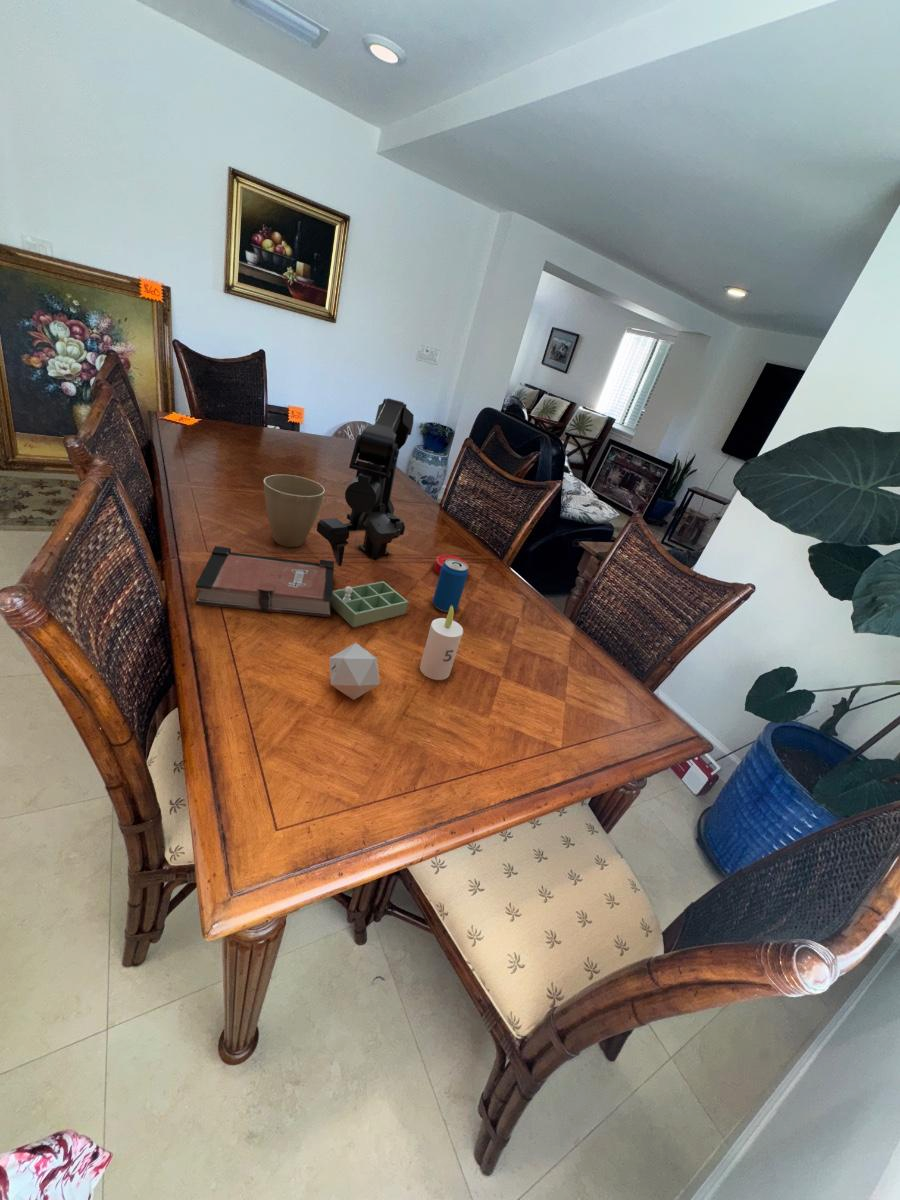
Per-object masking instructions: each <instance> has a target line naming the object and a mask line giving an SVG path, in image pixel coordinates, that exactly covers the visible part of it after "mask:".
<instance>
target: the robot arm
mask: <svg viewBox="0 0 900 1200" xmlns="http://www.w3.org/2000/svg"><path fill="white" fill-rule="evenodd" d="M414 416H415V415H414V414H413V413H412V411H410V410H409V409H408V408H407V404H406V403H405V402H404V401H400V400H397V399H393V398H389V397H387V398H383V400H382V403H381V404H378V407H377V411H376V415H375V419H374V421H375V422H374V424H371V425H366V426H365V427H364V428H363V430H362V431H361V433H360V434H359V433H358V434H357V436H356V440H355V443H354V447H353V451H352V454H351V458H350V463H349V467H348V468H349V469H352V470H356V473H355V474H356V475H355V477H354V478H353V480H352V481H351V482H350V484H349V485H347V487H346V490H345V493H344V499H345V502H346V505H348V507H349V508H350V509H351V512H350V513H347V514H346V519H347V520H348V521H349V522H348V523H346V522H345V523H344V522H342V521H341V520H340V519H338V518H337V517H332V518H330V517H329V518H321V519H320V520H318V522H317V525H316V532H317V533H318V534H319V535H321V536H322V537H323V538H324V539H325V540H326V541H328V543H329V544H330V547H331V550H332V554H333V556H334V559H335V563H336V565H337V566H338V567H342V564H343V560H344V553H345V547H346V546H347V545H348V544H349V541H348V539H349V538H350V534H352V533H362V532H365V533H364V539H363V544H360V545H358V549H360V550H361V551H362V552H364V553H365V554H366V555H367V556H368V557H370V558H372V560H373V561H375V562H376V561H378V559H379V557H382V556H388V555H389V554H390V552H389V551H388V550H387V547H388V544H391V543H392V541H393V540H395V539H398V538H399V537H400V536H404V534H405V530H406V525H405V523H404V521H403V520H402V517H400V516H399V517H397V516H396V515H394V513H395V507H394V504H393V502H392V500H391V497H392V492H393V487H394V486H393V485H394V480H395V474H396V469H397V463H398V458H399V455H400V450H401V448H403V446H404V445H405V444H406V442H407V440H408V437H409V436H411V435H412V431H413V426H414V419H415V418H414Z"/></svg>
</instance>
